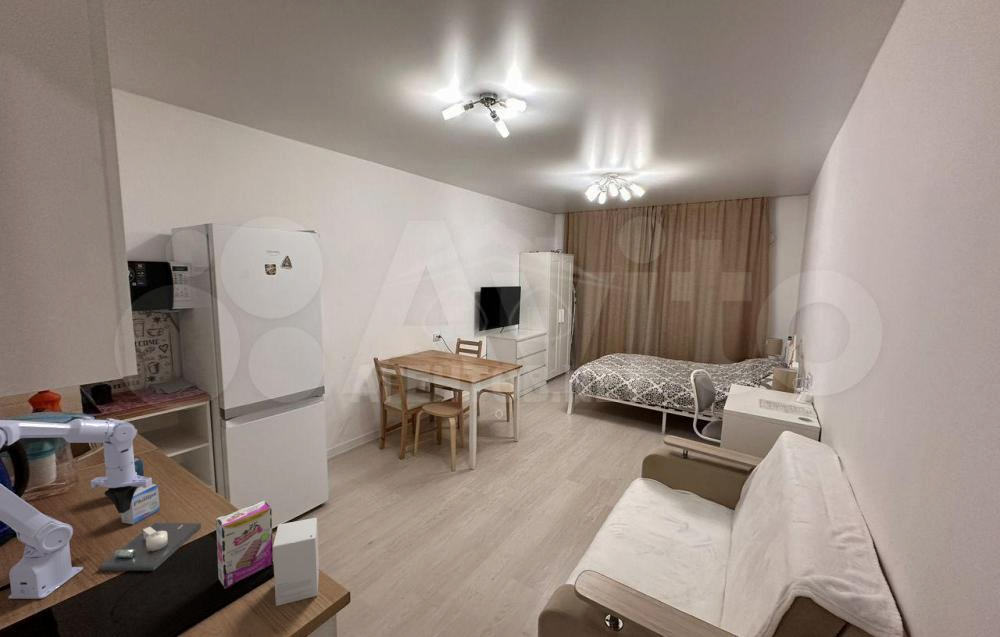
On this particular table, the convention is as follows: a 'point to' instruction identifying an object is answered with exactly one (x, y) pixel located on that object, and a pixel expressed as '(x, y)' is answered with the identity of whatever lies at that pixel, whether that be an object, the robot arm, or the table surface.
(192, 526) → the base plate
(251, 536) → the candy bar box
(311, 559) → the supplement box
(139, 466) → the soda can
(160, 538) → the white long bulbous piece
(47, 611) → the table surface
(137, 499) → the medicine box
